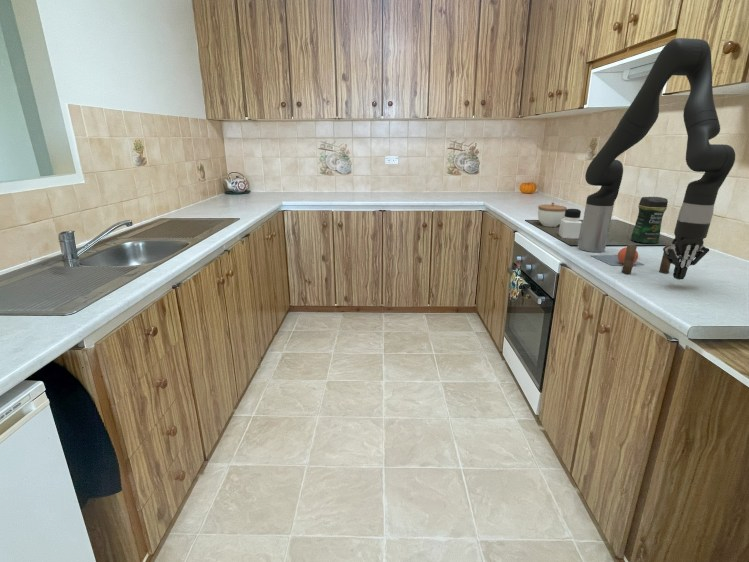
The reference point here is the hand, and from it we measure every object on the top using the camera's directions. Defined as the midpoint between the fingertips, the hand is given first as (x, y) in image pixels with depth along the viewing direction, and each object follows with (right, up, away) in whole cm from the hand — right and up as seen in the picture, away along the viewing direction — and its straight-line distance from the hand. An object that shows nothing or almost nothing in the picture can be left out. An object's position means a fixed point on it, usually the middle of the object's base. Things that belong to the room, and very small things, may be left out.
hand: (678, 278), depth 124 cm
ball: (-3, +8, +20) cm, 22 cm away
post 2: (+5, +2, +13) cm, 15 cm away
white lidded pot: (-3, +26, +83) cm, 87 cm away
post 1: (-8, +2, +12) cm, 15 cm away
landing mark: (-3, +7, +26) cm, 27 cm away
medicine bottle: (-4, +18, +60) cm, 63 cm away
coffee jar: (+24, +15, +53) cm, 60 cm away
